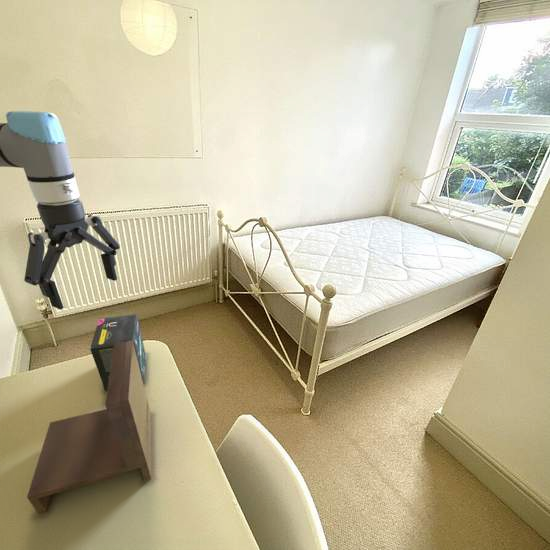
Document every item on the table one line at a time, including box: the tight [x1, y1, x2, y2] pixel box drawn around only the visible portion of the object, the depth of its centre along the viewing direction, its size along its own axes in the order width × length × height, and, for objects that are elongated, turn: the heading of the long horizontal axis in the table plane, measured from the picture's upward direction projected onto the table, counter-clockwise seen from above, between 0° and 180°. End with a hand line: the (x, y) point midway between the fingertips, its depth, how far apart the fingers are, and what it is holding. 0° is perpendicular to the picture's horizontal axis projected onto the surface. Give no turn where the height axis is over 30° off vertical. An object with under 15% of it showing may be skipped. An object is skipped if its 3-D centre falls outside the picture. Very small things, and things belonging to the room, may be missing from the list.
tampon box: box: [89, 313, 147, 392], centre depth 77 cm, size 11×9×15 cm
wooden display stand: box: [26, 341, 152, 515], centre depth 55 cm, size 18×14×23 cm
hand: (87, 292), depth 71 cm, fingers open, 13 cm apart
